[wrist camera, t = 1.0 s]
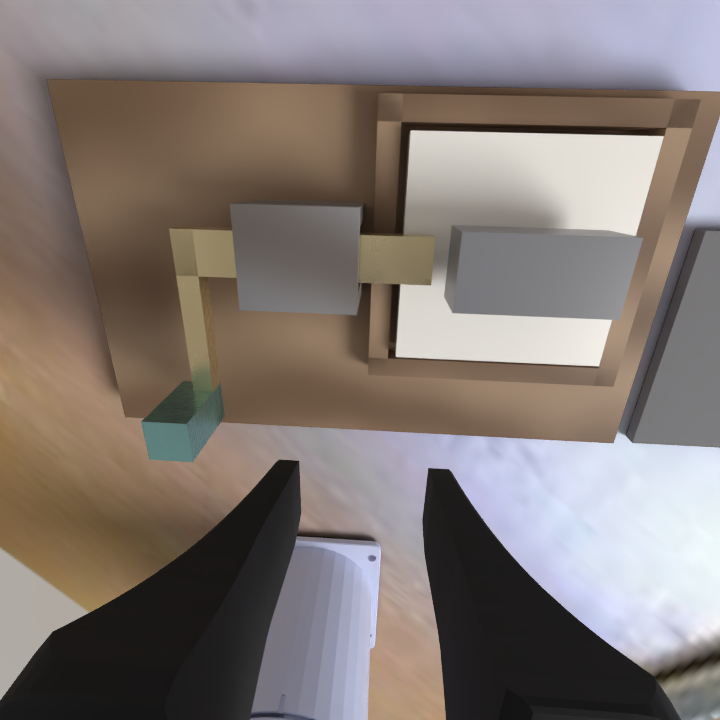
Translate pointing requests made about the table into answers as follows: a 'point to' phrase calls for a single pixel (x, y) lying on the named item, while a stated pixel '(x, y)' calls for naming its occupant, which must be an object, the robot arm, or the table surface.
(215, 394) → the latch bolt
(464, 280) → the cover
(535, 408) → the walnut base
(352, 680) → the robot arm
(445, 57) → the table surface
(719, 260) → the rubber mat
